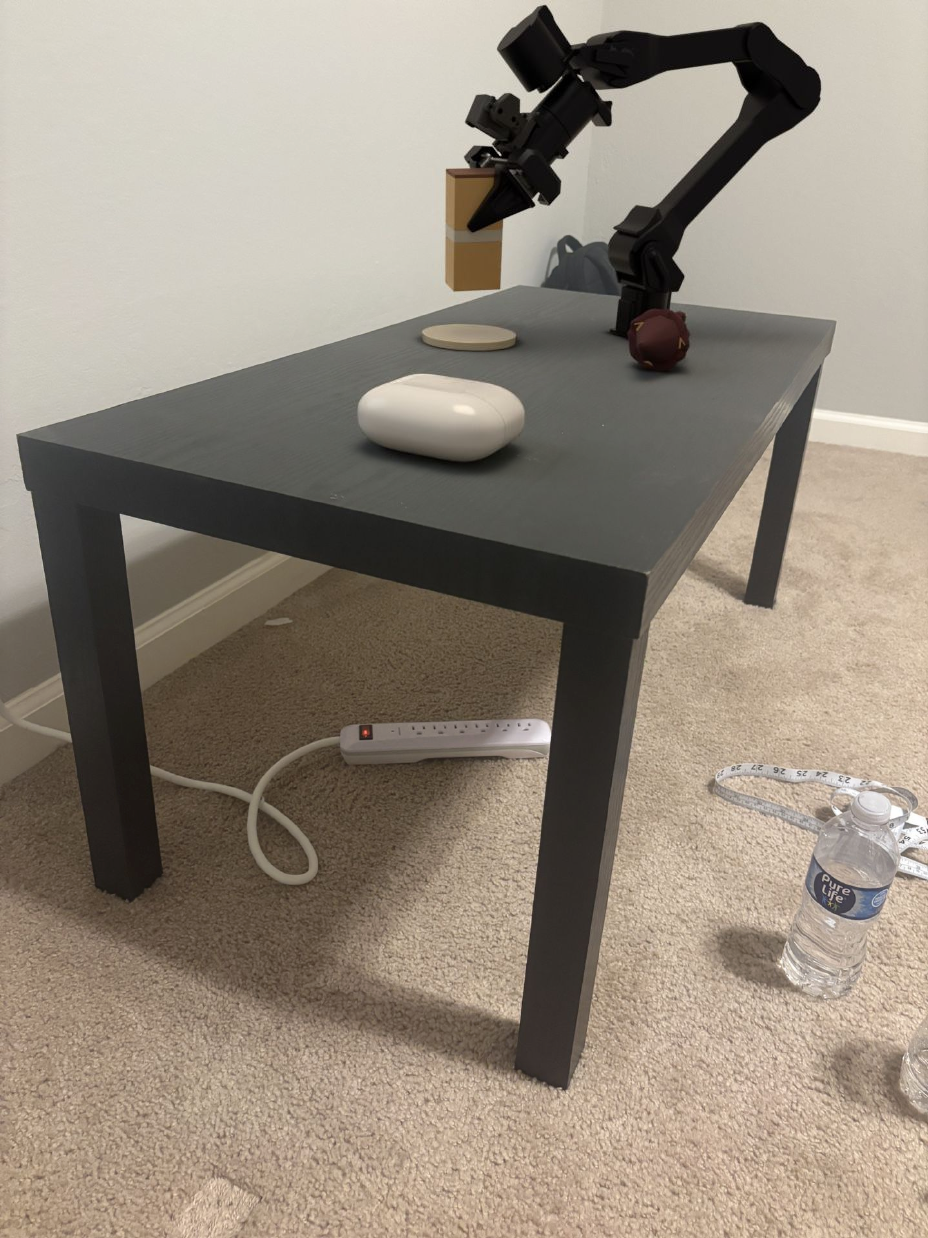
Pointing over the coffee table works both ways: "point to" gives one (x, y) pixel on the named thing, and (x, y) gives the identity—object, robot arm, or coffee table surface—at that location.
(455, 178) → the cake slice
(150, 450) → the coffee table surface
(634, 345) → the maroon dungeon die
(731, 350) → the coffee table surface
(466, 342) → the plate
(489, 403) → the earbud case
